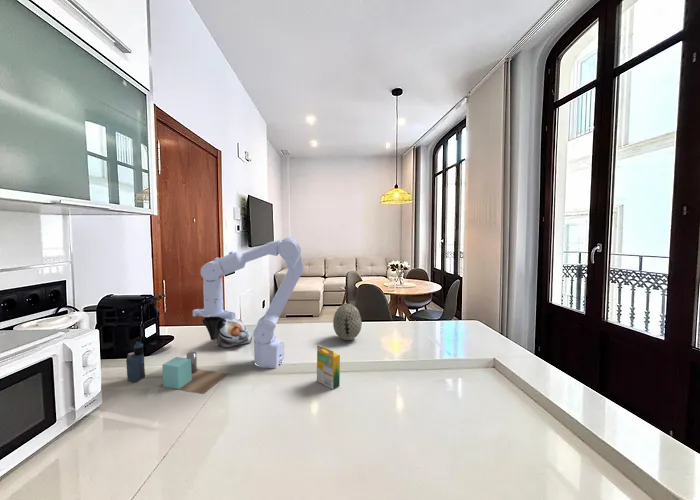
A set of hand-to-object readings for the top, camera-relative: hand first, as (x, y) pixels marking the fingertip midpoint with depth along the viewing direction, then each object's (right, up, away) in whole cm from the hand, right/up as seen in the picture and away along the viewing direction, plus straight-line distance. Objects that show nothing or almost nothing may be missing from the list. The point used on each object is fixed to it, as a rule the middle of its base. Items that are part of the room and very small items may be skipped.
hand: (214, 338), depth 105 cm
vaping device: (-21, -11, -7) cm, 24 cm away
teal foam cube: (-6, -10, -11) cm, 16 cm away
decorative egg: (+43, -8, +28) cm, 52 cm away
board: (-2, -11, -9) cm, 14 cm away
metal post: (-5, -10, -4) cm, 12 cm away
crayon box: (+38, -12, -8) cm, 40 cm away
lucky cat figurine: (-1, -8, +21) cm, 23 cm away
